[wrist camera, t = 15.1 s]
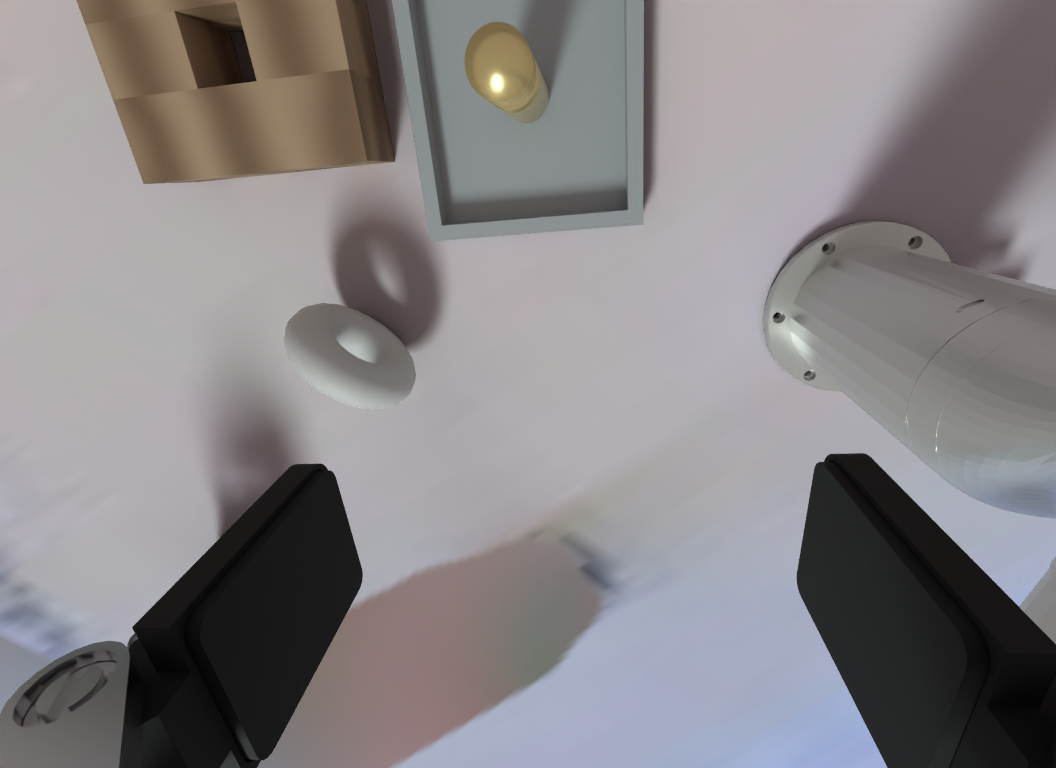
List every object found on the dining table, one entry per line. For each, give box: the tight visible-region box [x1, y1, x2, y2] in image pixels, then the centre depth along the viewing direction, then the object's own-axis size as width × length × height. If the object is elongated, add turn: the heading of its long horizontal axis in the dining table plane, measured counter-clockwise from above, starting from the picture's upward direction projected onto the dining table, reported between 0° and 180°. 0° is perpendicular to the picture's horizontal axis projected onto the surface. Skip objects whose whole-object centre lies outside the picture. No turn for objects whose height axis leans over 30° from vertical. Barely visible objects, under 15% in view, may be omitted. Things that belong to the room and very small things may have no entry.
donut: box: [284, 303, 416, 409], centre depth 37 cm, size 10×4×10 cm, turn 52°
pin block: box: [77, 0, 395, 184], centre depth 32 cm, size 16×14×5 cm
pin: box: [464, 22, 549, 123], centre depth 27 cm, size 3×3×12 cm
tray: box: [392, 0, 644, 241], centre depth 32 cm, size 15×17×2 cm
